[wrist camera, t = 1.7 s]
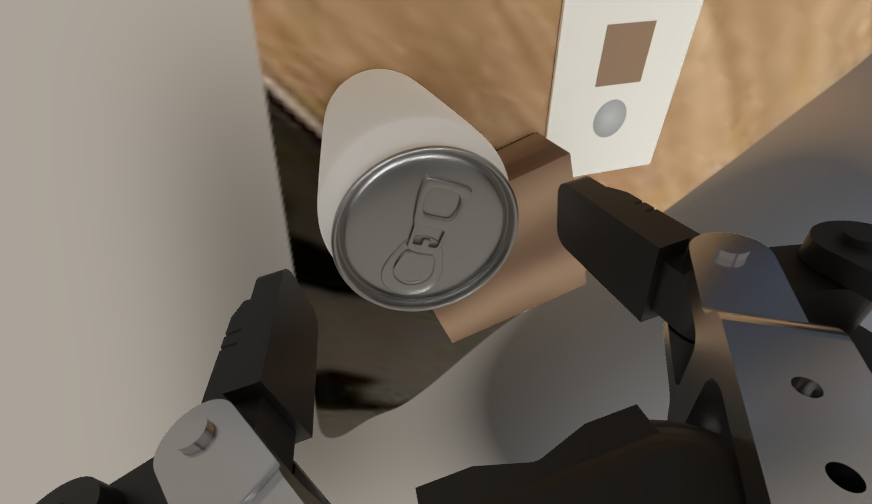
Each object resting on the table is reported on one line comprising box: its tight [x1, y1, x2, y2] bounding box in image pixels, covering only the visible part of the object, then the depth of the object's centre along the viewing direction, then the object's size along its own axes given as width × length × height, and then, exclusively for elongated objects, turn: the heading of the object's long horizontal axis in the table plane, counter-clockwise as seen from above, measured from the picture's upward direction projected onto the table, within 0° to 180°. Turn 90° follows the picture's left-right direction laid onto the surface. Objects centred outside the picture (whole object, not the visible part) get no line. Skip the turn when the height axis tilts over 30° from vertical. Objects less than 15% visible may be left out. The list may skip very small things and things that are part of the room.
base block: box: [432, 132, 586, 343], centre depth 24 cm, size 11×11×4 cm
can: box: [317, 69, 519, 311], centre depth 15 cm, size 6×6×12 cm
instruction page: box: [545, 0, 704, 177], centre depth 21 cm, size 12×9×1 cm
